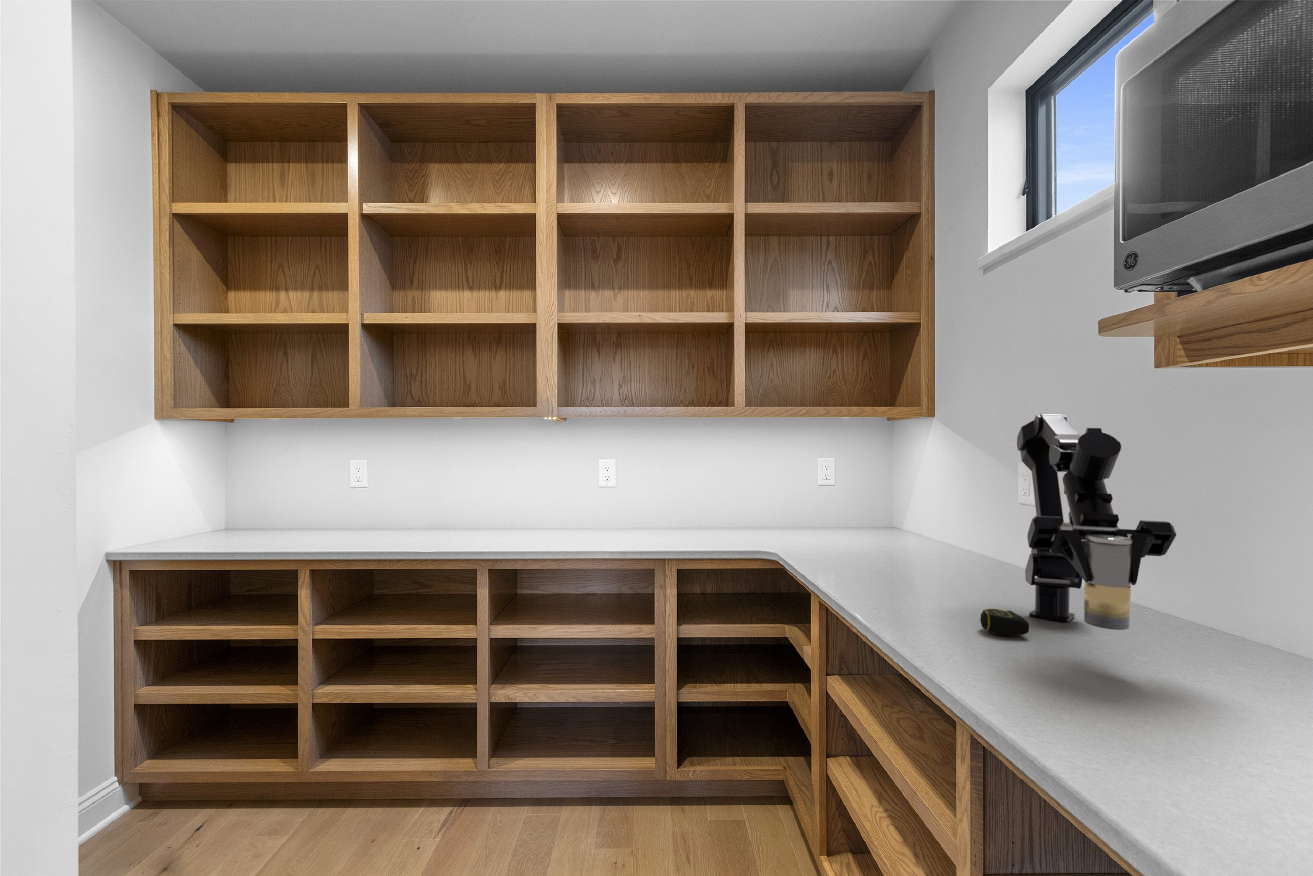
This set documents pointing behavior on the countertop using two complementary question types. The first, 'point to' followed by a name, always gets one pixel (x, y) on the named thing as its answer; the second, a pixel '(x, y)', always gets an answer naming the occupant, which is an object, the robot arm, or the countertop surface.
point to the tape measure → (1003, 622)
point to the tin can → (1108, 581)
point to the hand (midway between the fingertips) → (1110, 582)
